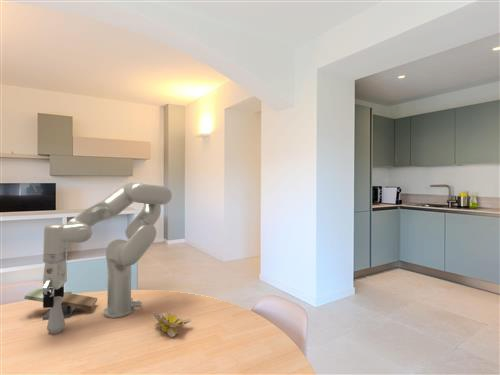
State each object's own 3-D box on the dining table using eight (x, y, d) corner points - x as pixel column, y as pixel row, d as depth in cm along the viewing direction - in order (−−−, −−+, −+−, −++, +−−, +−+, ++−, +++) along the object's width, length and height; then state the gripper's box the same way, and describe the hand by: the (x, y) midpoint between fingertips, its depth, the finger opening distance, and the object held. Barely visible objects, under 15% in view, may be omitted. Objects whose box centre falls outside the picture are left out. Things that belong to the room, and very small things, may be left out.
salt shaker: (68, 328, 115) (68, 295, 114) (57, 335, 109) (57, 301, 109) (54, 327, 115) (54, 294, 115) (43, 334, 110) (43, 300, 109)
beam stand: (80, 303, 137) (80, 290, 137) (69, 318, 123) (69, 303, 123) (56, 305, 135) (56, 292, 134) (42, 320, 121) (42, 305, 121)
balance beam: (96, 301, 136) (97, 298, 136) (91, 309, 127) (92, 306, 127) (34, 290, 130) (35, 287, 130) (24, 298, 121) (25, 295, 121)
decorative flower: (198, 327, 114) (192, 303, 112) (173, 345, 106) (166, 320, 104) (176, 316, 124) (171, 295, 123) (152, 332, 116) (146, 309, 115)
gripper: (57, 262, 104) (55, 311, 104) (74, 251, 121) (72, 293, 121) (32, 263, 102) (31, 312, 102) (53, 251, 119) (52, 294, 119)
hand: (53, 302), depth 111 cm, fingers open, 9 cm apart
